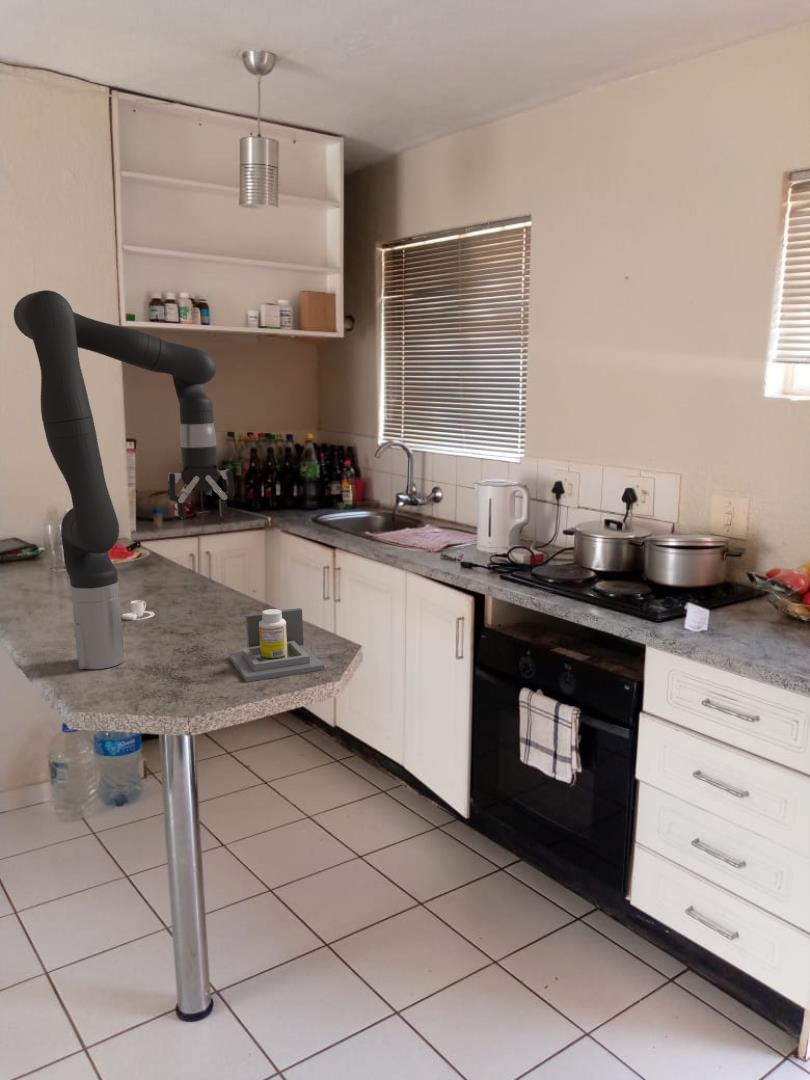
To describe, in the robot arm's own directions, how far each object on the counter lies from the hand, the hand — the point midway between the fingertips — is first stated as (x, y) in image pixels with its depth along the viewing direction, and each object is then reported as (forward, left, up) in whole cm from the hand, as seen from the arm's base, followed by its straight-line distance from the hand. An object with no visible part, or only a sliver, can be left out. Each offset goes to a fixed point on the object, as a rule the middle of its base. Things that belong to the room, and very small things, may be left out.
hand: (203, 517), depth 187 cm
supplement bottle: (+9, -23, -27) cm, 37 cm away
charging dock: (+9, -23, -28) cm, 37 cm away
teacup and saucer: (-16, +29, -29) cm, 44 cm away
